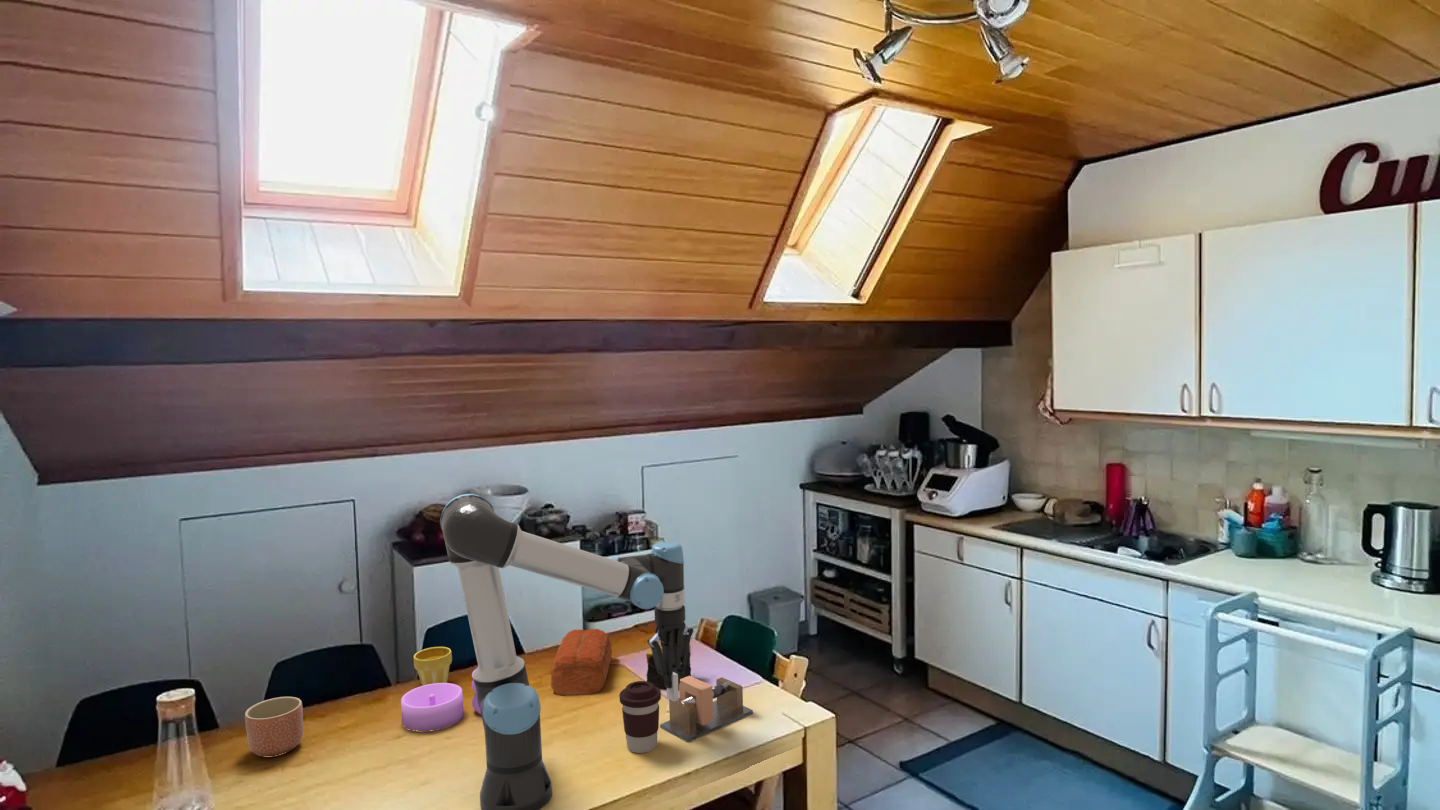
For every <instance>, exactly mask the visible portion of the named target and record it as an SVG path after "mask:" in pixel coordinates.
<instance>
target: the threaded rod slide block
mask: <svg viewBox="0 0 1440 810" xmlns="http://www.w3.org/2000/svg"><path fill="white" fill-rule="evenodd" d="M715 683H716V684H715V685H714V686H712V689H713V721H712V722H709V723H707V724H705V725H701V724H699V723H697V722H696V696H692V697H689V698H687V699H684V700H682V699H680V698H679V700H677V701H672V700H670V699H668V705H669V706H668V707H669V711H668V712H669V720H667V721H664V722H663V723H660V724H659V729H663V730H664V731H665V732H668V733H670V734H671V735H673V736H675V737H677V738H679V739H680V740H682V741H684V742H686V743H690V742H693V741H695V740H696V739H699V738H701V737H703V736H705V735H708V734H710V733H712V732H714V731H717V730H719V729H721V728H723V727H725V726H727V725H730V724H731V723H734V722H736V721H738V720H741V719H743V718H745V717H747V716H749V715H752V714H753V713H754V710H753V709H751V708H749V707H747V706H745V705H744V696H743V694H744V693H743V685H740V684H738V683H735V682H733V681H731V680H729V679H727V678H725V677H719V678H716V681H715ZM714 699H716V700H714Z"/></svg>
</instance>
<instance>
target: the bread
mask: <svg viewBox="0 0 1440 810" xmlns="http://www.w3.org/2000/svg"><path fill="white" fill-rule="evenodd" d="M612 656H613V649H612V642H611V640H610V639H609V635H608V634H607V632H605V631H604V630H602V629H598V628H588V629H586V630H585V629H572V630H570V631H568V632H567V634H565V636H564V637H562V640H561V643H560V645H559V646H558V649H557V651H556V652H555V657H554V659H553V663H552V668H551V669H550V676H551V677H550V687H551V688H552V690H553V691H554V693H555V695H560V696H561V695H562V696H578V695H579V696H580V695H581V696H582V695H586V696H587V695H592V694H593V695H594V694H598V693H599V692H600V691H601V690H602V689H603V688H604V686H605V683H606V680H607V675H608V673H609V667H610V664H611V663H610V662H611V658H612Z"/></svg>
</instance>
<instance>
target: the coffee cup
mask: <svg viewBox="0 0 1440 810" xmlns="http://www.w3.org/2000/svg"><path fill="white" fill-rule="evenodd" d="M661 691H662V690H661V689H659V688H657V687H655V686H654V685H653V684H652V683H650V682H647V680H646V681H645V680H637V681H633V682H631V683H628V684H627V685H626V687H625V688H623V689H622V690H621V691H620V692H619V695H618V697H619V698H618V699H619V702H620V704H621V705H622V708H621V711H622V712H621V713H622V719H623V731H624V734H625V740H626V748H627V749H628V750H629V751H630V752H632V753H636V754H645V753H648V752H651V751H653V750H654V749H655V748H657V746H658V733H659V732H658V731H659V729H660V724H659V721H660V720H659V719H660V704H659V703H660V702H659V701H660V700H661V698H662V693H661Z"/></svg>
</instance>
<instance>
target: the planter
mask: <svg viewBox="0 0 1440 810" xmlns="http://www.w3.org/2000/svg"><path fill="white" fill-rule="evenodd" d="M303 715H304V713H303V702H302V700H301V699H300V698H298V697H296V696H295V697H294V696H279V697H273V698H270V699H266V700H263V701H260V702H258V703H255V704H254V705H252V706H250V707H248V709H247V710H246V711H245V713H244V722H245V730H246V736H247V744H248V748H249V749H250V751H251V753H253V754H255V755H256V756H258V757H260V756H275V755H279V754H282V753H285V752H288V751H290V750H291V749H292V750H294V749H295V748H296V747H297V746H298V745H299V744H300V743H301V741H302V738H303V735H304V716H303ZM293 748H294V749H293ZM292 750H291V751H292ZM291 751H290V752H291ZM288 753H289V752H288Z"/></svg>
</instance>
